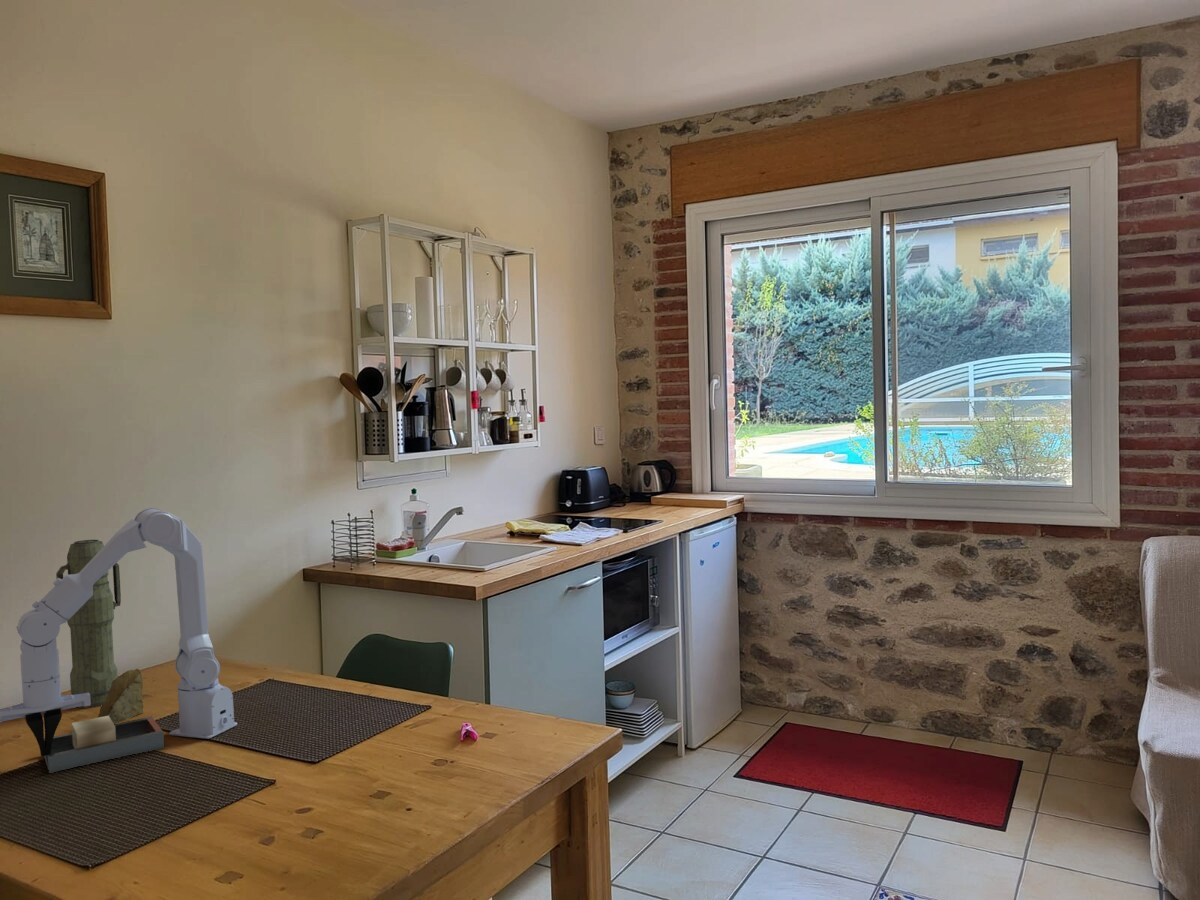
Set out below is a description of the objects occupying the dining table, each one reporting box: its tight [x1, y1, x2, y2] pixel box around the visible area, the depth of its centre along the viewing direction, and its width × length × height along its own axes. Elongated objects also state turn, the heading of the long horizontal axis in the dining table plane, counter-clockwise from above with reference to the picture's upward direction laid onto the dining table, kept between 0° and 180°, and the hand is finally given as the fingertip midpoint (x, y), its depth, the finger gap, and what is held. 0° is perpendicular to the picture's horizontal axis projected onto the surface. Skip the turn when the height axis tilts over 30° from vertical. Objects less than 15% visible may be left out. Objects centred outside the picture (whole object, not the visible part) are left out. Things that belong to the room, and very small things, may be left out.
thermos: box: [55, 539, 122, 709], centre depth 193 cm, size 9×12×35 cm
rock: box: [96, 668, 144, 724], centre depth 181 cm, size 11×9×10 cm
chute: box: [43, 716, 165, 774], centre depth 163 cm, size 18×11×3 cm, turn 126°
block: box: [71, 716, 116, 749], centre depth 162 cm, size 6×8×4 cm
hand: (45, 753), depth 158 cm, fingers closed
